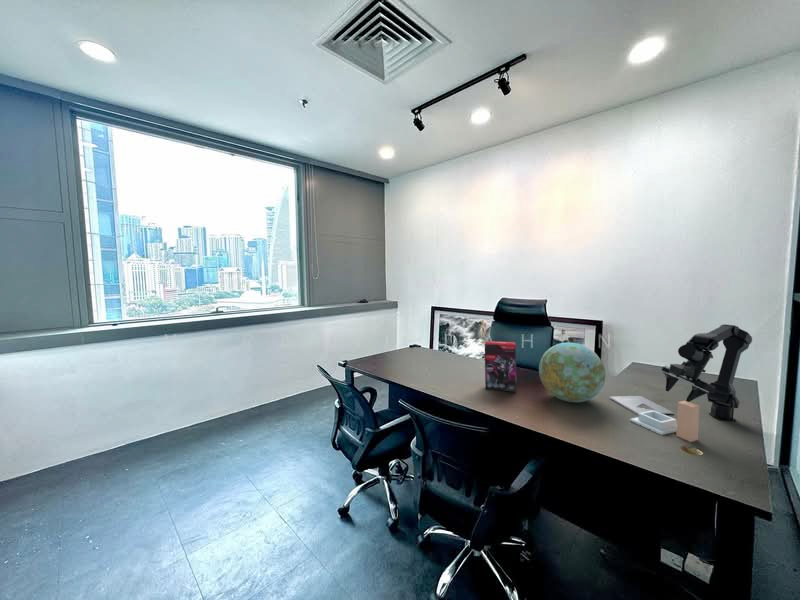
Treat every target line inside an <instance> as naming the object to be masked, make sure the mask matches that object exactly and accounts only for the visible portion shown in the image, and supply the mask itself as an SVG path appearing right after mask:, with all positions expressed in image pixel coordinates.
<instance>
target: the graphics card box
mask: <svg viewBox="0 0 800 600" xmlns="http://www.w3.org/2000/svg"><path fill="white" fill-rule="evenodd" d="M516 345H517V344H516V342H515V341H492V340H491V341H489V340H485V342H484V376H485V377H484V379H485V380H484V382H485V383H484V384H485V390H489V391H503V392H517V352H516V351H517V346H516Z"/></svg>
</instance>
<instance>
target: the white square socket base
mask: <svg viewBox="0 0 800 600" xmlns="http://www.w3.org/2000/svg"><path fill="white" fill-rule="evenodd" d="M629 420H630V421H629V422H632V423H634V424H637V425H639V426H640V425H641V427H643V428H645V429H648V430H649V429H650V430H649V431H652V432H654V433H656V434H658V435H660V436H664V435H668V434H672V433H676V429H677V418H674V417H671V416H670V415H664V414H661V413H659V412H656V411H654V410H652V411H647V412H642V413H639V414H638V415H637V417H634V418H633V417H632V418H630V419H629Z"/></svg>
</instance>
